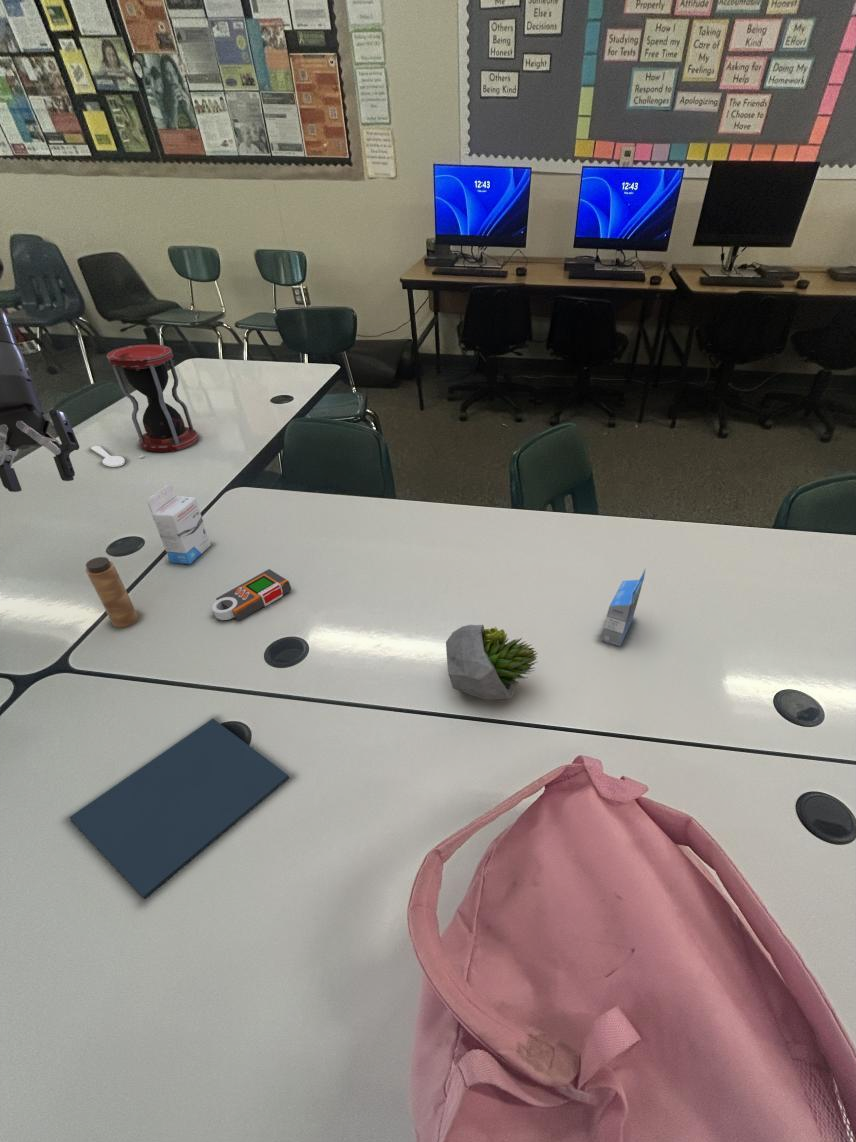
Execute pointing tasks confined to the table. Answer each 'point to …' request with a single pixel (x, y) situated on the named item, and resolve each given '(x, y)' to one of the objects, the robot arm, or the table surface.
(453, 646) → the potted plant
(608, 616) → the label tape box
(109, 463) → the spoon
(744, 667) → the table surface
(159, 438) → the hourglass
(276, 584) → the electronic device
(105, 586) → the pepper mill
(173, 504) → the ink box
